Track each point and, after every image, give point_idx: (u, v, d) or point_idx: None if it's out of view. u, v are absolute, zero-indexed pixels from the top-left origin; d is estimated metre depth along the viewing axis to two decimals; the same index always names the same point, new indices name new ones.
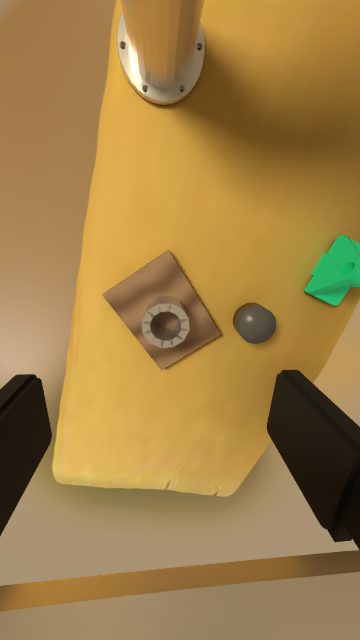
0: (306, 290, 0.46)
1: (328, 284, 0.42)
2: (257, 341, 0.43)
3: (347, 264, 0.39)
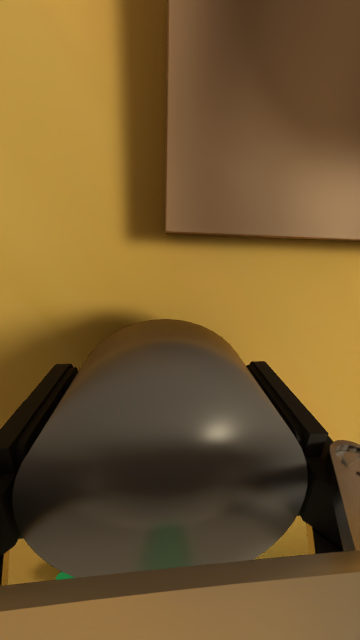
0: None
1: None
2: (39, 473, 0.05)
3: None
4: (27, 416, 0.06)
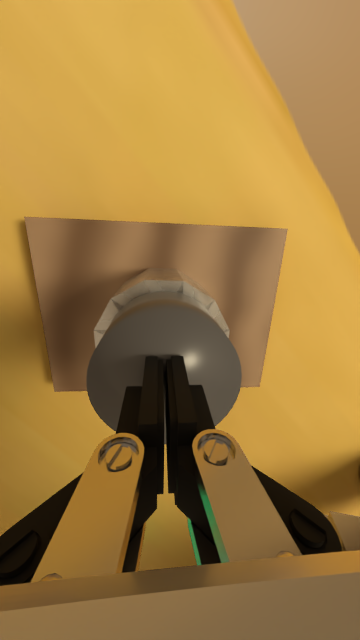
0: None
1: None
2: (101, 357, 0.09)
3: None
4: (153, 399, 0.07)
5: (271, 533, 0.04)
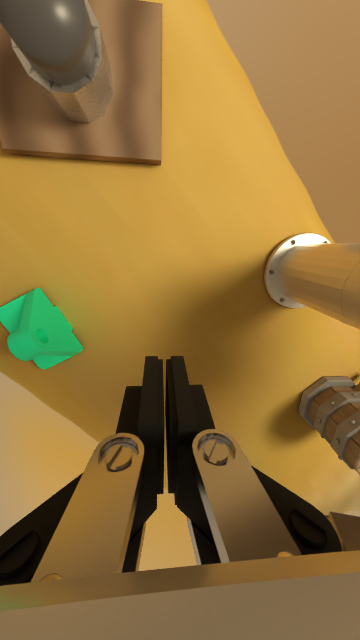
0: (38, 289, 0.35)
1: (33, 310, 0.31)
2: None
3: (47, 337, 0.32)
4: (153, 399, 0.07)
5: (271, 533, 0.04)
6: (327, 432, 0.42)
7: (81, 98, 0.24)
